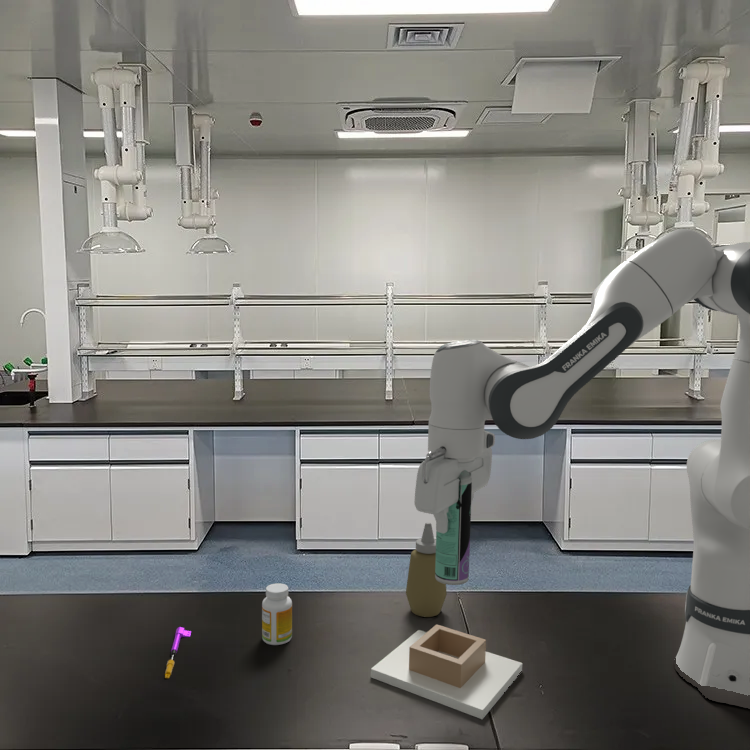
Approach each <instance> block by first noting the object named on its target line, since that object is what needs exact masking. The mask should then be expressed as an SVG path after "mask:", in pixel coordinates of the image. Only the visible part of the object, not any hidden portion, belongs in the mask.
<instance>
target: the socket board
mask: <svg viewBox="0 0 750 750" xmlns="http://www.w3.org/2000/svg"><path fill="white" fill-rule="evenodd" d="M486 650H487V639H484V638H482V637H478V636H476V635H472V634H468V633H466V632H462V631H460V630H456V629H452V628H449V627H447V626H443V625H440V624H435V625H434V626H433V627H432V628H430V629H429V630H427V631H424V630H421V629H418V630H417V631H415V632H414V633H413V634H411V635H410V636H409V637H408V638H407V639H406V640H404V641H403V642H402V643H400V645H398V646H397V647H396V648H394V649H393V650H392V651H391V652H389V653H388V654H387V655H386V656H385V657H383V659H381V660H380V661H379V662H377V663H376V664H375V665H374V666H372V667H371V668H370V678H371V679H375V680H377V681H380V682H383V683H384V684H386V685H387V684H388V685H389V686H393V687H394V688H395V687H396V688H398V689H400V690H403V691H406V692H409V693H412V694H414V695H417V696H419V697H422V698H425V699H427V700H430V701H433V702H435V703H438V704H440V705H442V706H446V707H449V708H451V709H454V710H456V711H458V712H461V713H465V714H466V715H469V716H473V717H475V718H477V719H480V720H483V719H484V718H485V717H486V716H487V714H488V713H489V712H490V711H491V710H492V709H493V707H494V706H495V705H496V704H497V702H498V701H499V700H500V699H501V697H502V696H503V695H504V692H505V693H506V691H507V690H508V689H509V688H508V687H509V686H510V687H511V685H513V683H514V682H513V681H516V680H517V678H518V677H519V676H520V674H521V673H522V672H523V663H522V662H520V661H517V660H513V659H511V658H509V657H505V656H501V655H499V654H495V653H493V652H489V651H486ZM521 671H522V672H521ZM520 672H521V673H520ZM519 673H520V674H519ZM518 675H519V676H518ZM517 676H518V677H517Z"/></svg>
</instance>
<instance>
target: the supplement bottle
mask: <svg viewBox="0 0 750 750" xmlns="http://www.w3.org/2000/svg"><path fill="white" fill-rule="evenodd" d="M265 596H266V597H264V598H263V600H262V603H261V624H262V625H261V626H262V627H261V637H262V641H263V642H264V643H266V644H267V645H271V646H279V645H284V644H286V643H288V642H290V641H291V640H292V638H293V601H292V598H290V596H289V587H288V585H287V584H285V583H280V582H279V583H272V584H269V585H267V586H266V588H265Z"/></svg>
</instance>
